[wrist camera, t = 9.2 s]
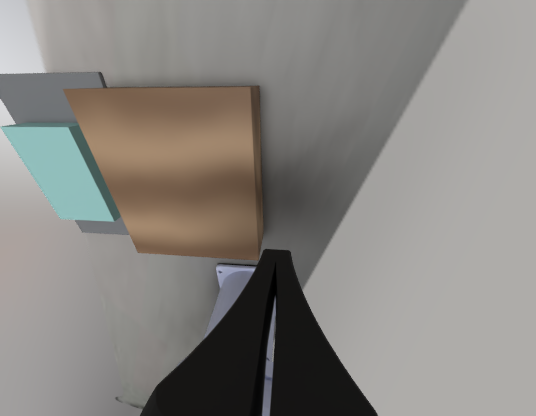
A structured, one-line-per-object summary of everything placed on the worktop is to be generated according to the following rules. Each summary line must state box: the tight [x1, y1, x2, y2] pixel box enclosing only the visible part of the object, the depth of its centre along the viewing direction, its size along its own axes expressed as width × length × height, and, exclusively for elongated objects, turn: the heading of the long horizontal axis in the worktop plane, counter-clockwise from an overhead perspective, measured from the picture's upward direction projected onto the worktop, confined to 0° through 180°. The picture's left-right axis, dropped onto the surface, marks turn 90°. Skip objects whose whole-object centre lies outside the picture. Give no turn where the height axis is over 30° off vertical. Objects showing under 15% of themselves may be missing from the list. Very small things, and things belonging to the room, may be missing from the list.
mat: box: [0, 72, 130, 235], centre depth 20 cm, size 16×10×1 cm, turn 1°
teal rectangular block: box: [1, 123, 121, 222], centre depth 19 cm, size 9×6×2 cm, turn 1°
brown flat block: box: [63, 86, 263, 260], centre depth 18 cm, size 14×12×4 cm
